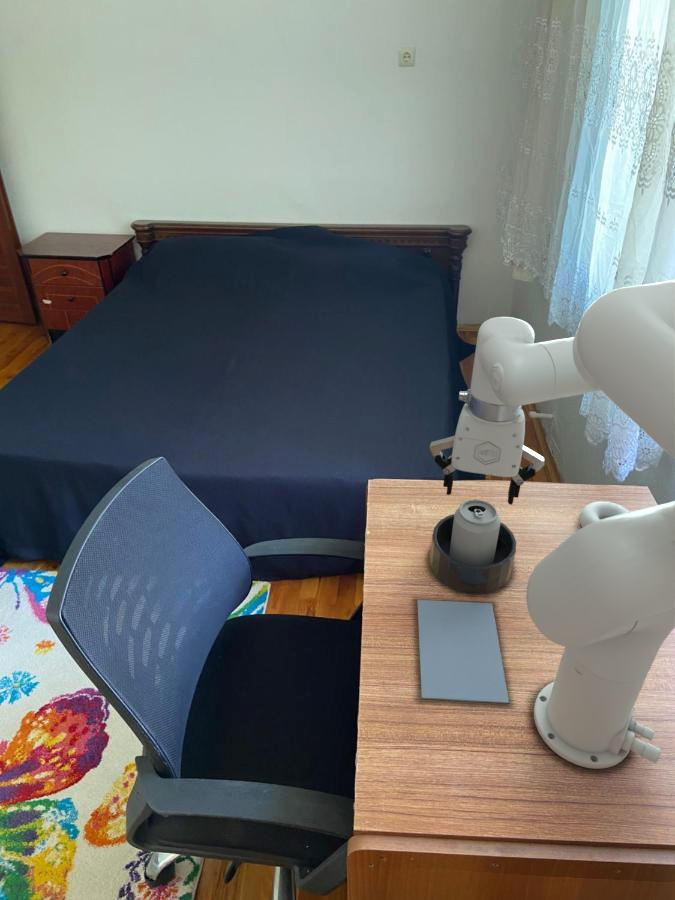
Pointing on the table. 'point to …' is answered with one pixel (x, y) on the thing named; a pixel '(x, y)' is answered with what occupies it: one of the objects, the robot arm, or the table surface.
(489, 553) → the can
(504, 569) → the pot
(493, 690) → the cloth
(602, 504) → the donut
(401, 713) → the table surface
